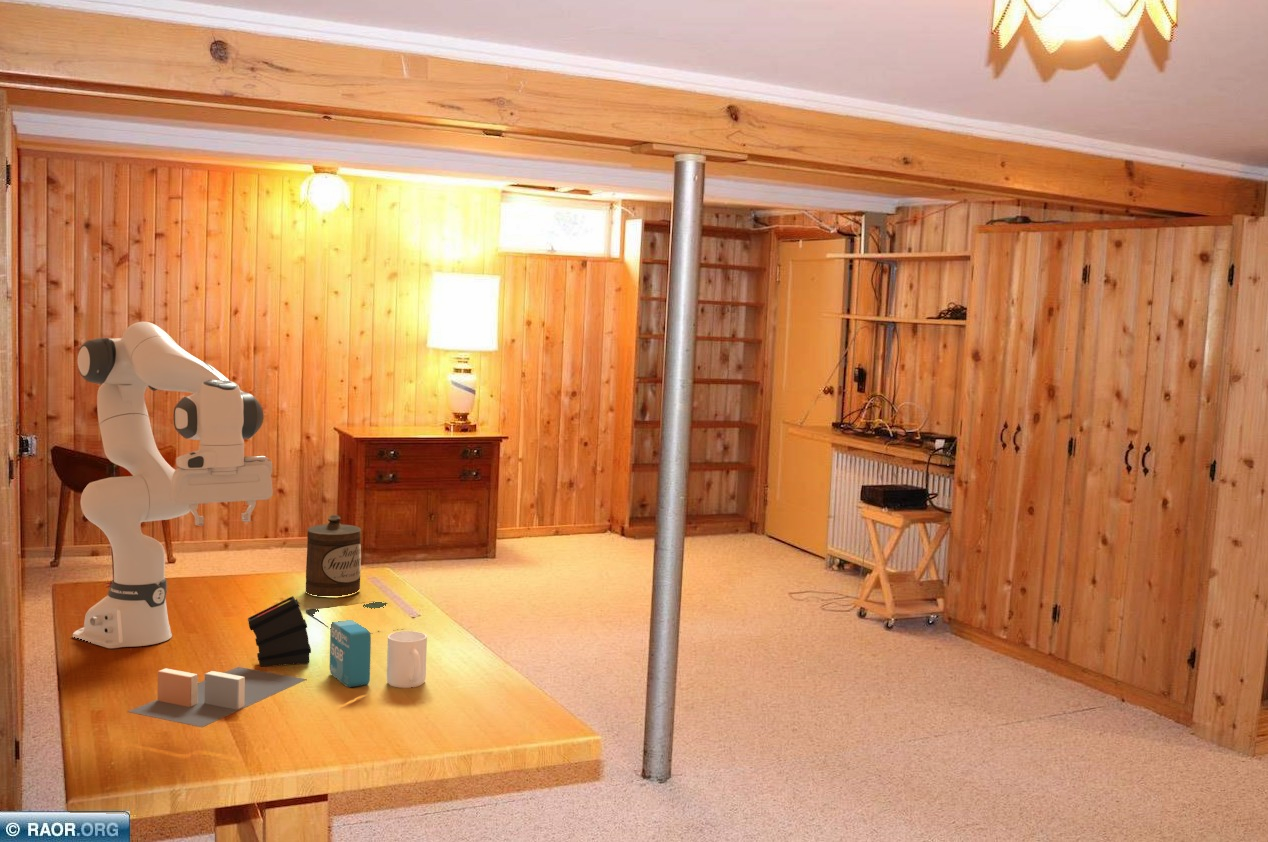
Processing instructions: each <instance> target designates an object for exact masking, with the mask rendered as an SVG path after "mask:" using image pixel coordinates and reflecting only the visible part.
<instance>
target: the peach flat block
mask: <svg viewBox="0 0 1268 842" xmlns="http://www.w3.org/2000/svg"><path fill="white" fill-rule="evenodd" d="M198 675H199V674H197V673H192V672H188V671H182V670H177V669H171V668H165V667H164V668H162V669H161V670H160V669H159V670H158V671H157V699H158V701H162V702H167V703H172V704H177V705H182V706H187V707H191V706H193V705H195V704H198V683H199V679H198V678H199V676H198Z"/></svg>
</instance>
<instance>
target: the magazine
mask: <svg viewBox="0 0 1268 842" xmlns="http://www.w3.org/2000/svg"><path fill="white" fill-rule="evenodd" d="M247 622H248V626H249V627H248V628H249V630H250V631H252V632H253V633H254V636H255V637H256V638H255V640H254V641H255V644H256V646H257V647H258V653H256V654H257V655H256V656H257V662H258V663H259V667H263V666H264V667H276V666H289V665H305V664H307V665H308V664H310V654H311V653H312V647H311V645H310V642H309V635H308V630H307V628H308V625H307V621H306V619H305V618H304V617H303V612H302V611H301V609H300V604H299V601H298V599H297V598H296V599H295V596H294V595H292V596H290V597H287V598H286V599H284V600H282V601H280V602H277V603H276V604H274V605H272V606H269V607H268V608H265V609H264V610H262V611H260V612H257V613H256V614H254V615H252V616H249V617H248V618H247Z"/></svg>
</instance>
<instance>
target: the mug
mask: <svg viewBox="0 0 1268 842" xmlns="http://www.w3.org/2000/svg"><path fill="white" fill-rule="evenodd" d="M427 643H428V635H427V634H426V633H424V632H421V631H420V632H419V631H416V630H415V631H414V630H402V631H400V630H399V631H395V632H392V633H390V634H389V635H387V656H386V657H387V659H386V661H387V663H386V681H387V684H388V685H389V686H391V687H394V688H399V689H412V688H411V687H413V688H417V687H420V686H422V685H423V684H424V683H425V681H426V676H427Z"/></svg>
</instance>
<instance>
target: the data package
mask: <svg viewBox="0 0 1268 842" xmlns="http://www.w3.org/2000/svg"><path fill="white" fill-rule="evenodd" d="M329 630H330V633H329V634H330V639H329V673H330V674H332V675H333V678H335V679H336V678H337V679H336V680H338V681H339V682H340V683H341V684H343V685H344V686H345V685H346V688H355V687H360V686H366V685H367V686H368V685H369V684H370V680H371V654H372V653H371V652H372V651H371V650H372V649H371V648H372V646H371V645H372V636H371V633H370V632H369V631H368V630H367V629H366V628H364V627H362V626H361V625H359V624H358V623H356V622H354V621H353V620H346V621H338V622H332V624H331V628H330V629H329ZM332 675H331V676H332Z"/></svg>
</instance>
